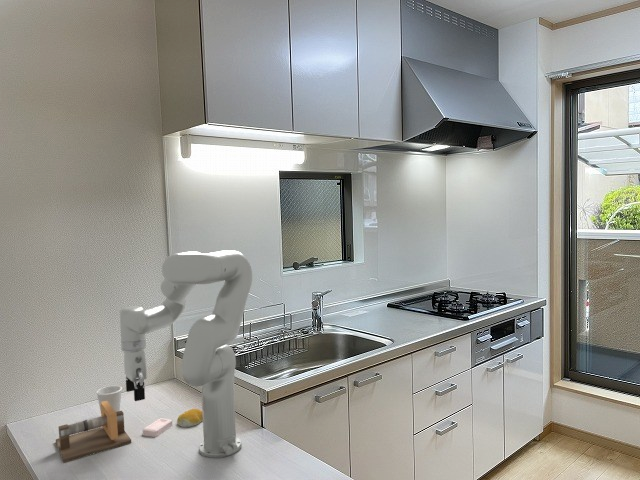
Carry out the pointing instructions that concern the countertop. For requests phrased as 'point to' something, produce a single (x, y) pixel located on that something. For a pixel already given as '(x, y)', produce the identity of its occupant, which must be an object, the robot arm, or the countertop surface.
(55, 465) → the countertop surface
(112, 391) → the dixie cup
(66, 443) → the pipe stand
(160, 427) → the soap bar
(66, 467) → the countertop surface
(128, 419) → the countertop surface
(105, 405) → the collar
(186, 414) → the bread roll
